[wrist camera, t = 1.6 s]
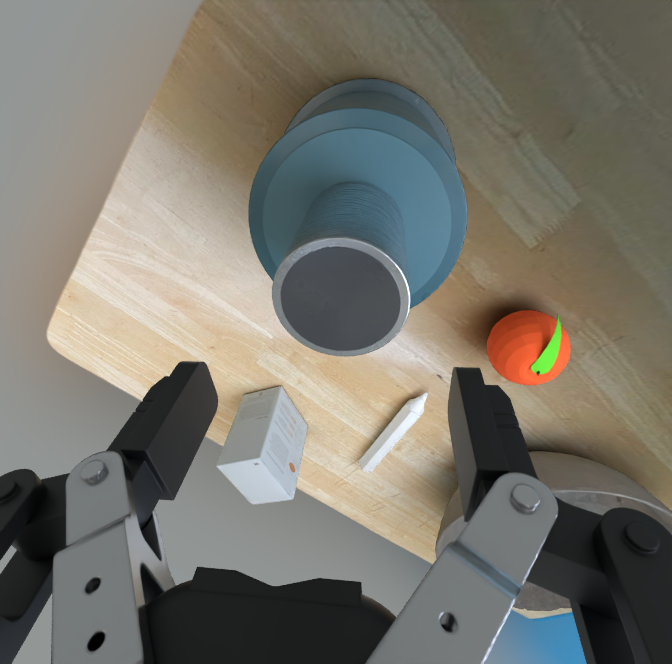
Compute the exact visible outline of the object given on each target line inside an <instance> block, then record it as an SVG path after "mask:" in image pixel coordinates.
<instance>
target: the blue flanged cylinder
mask: <svg viewBox="0 0 672 664" xmlns="http://www.w3.org/2000/svg"><path fill="white" fill-rule="evenodd" d="M348 181H359V182H365V183H369V184H372V185H374V186H376V187H378V188H380V189H382V190H383V191H385V192H386V193H387V194H388V195H389V196H390V197H391V198H392V199H393V200H394V201H395V203H396V204H397V206H398V207H399V210H400V212H401V214H402V217H403V221H404V228H405V240H406V251H407V263H408V274H409V285H410V308H412V307H414V306H416V305H417V304H419V303H420V302H422V301H423V300H425V299H426V298H427V297H429V296H430V295H431V294H432V293H433V292H434V291H435V290H436V289H437V288H438V287H439V286H440V285H441V284H442V283H443V281H444V280H445V279H446V278H447V276H448V275H449V273H450V272H451V270H452V269H453V267H454V265H455V263H456V261H457V259H458V257H459V255H460V252H461V249H462V246H463V243H464V239H465V234H466V229H467V203H466V196H465V192H464V188H463V184H462V181H461V179H460V176H459V173H458V171H457V169H456V163H455V155H454V150H453V146H452V142H451V140H450V137H449V134H448V132H447V130H446V128H445V126H444V124H443V123H442V121H441V119H440V118H439V116H438V115H437V114H436V113H435V111H434V110H433V109H432V107H431V106H430V105H429V104H428V103H427V102H426V101H425V100H424V99H423V98H421V97H420V96H419V95H417V94H416V93H414V92H413V91H412V90H410V89H408V88H406V87H404V86H402V85H400V84H397V83H394V82H391V81H388V80H382V79H375V78H360V79H354V80H348V81H345V82H342V83H338V84H335V85H333V86H331V87H329V88H327V89H325V90H323V91H322V92H320V93H319V94H318V95H316V96H315V97H313V98H312V99H310V100H309V101H308V102H307V103H306V104H305V105H304V106H303V107H302V108H301V109H300V110H299V111H298V113H297V114H296V115H295V116H294V118H293V119H292V121H291V122H290V124H289V126H288V127H287V129H286V131H285V133H284V136H282V137H281V138H280V139H279V140H278V141H277V142H276V143H275V145H274V146H273V147H272V148H271V149H270V151H269V152H268V153H267V155H266V156H265V158H264V160H263V161H262V163H261V165H260V167H259V169H258V171H257V174H256V176H255V178H254V181H253V185H252V189H251V193H250V200H249V227H250V234H251V238H252V241H253V245H254V248H255V251H256V253H257V255H258V258H259V260H260V262H261V264H262V265H263V267H264V269H265V271H266V272H267V273H268V275H269V276H270V278H271V279H272V280H273V281H274V277H275V274H276V272H277V270H278V268H279V266H280V264H281V262H282V260H283V258H284V256H285V254H286V252H287V250H288V248H289V246H290V244H291V242H292V240H293V238H294V236H295V234H296V232H297V230H298V228H299V226H300V224H301V222H302V220H303V218H304V217H305V215H306V213H307V211H308V209H309V207H310V205H311V203H312V202H313V201H314V199H315V198H316V197H317V196H318V195H319V194H320V193H321V192H323V191H324V190H325V189H327V188H329V187H330V186H333V185H335V184H338V183H342V182H348Z"/></svg>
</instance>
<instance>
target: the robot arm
mask: <svg viewBox="0 0 672 664" xmlns="http://www.w3.org/2000/svg"><path fill="white" fill-rule="evenodd" d="M217 406H218V396H217V392H216V389H215V387H214V384H213V381H212V378H211V375H210V372H209V369H208V367H207V365H206V363H205V362H189V361H182V362H180V363H178V365H177V366H176V367H175V369H174V370H173V372H172V373H171V375H170V376H165V377H164V378H162V379H161V380H160V381H159V382H157V383H156V384H155V385H153V386H152V387H151V388H150V390H149V391H148V393H147V394H146V396H145V397H144V398H143V402H141V403H140V404H139V405H138V407H137V408H136V412H133V414H132V415H131V417H130V418H129V420H128V421H127V422H126V424H125V425H124V427H123V428H122V429H121V431H120V432H119V434H118V435H117V437H116V438H115V439H114V441H113V442H112V443H111V445H110V446H109V448H108V449H107V450H106V451H103V452H99V453H96V454H93V455H91V456H89V457H88V458H86V459H84V460H83V461H81V462H80V463H79V464H78V465H77V466H76V467H75V468H74V469H73V470H72V471H71V473H68V474H64V475H59V476H55V477H51V478H46V479H42V480H40V478H39V477H38V476H37V475H36V474H35V473H34V472H33V471H32V470H28V469H19V470H15V471H12V472H9V473H7V474H4V475H3V476H1V477H0V560H1V559H2V557H3V556H4V555H5V553H6V551H7V550H8V549H9V547H10V546H11V545H12V546H13V547H14V548H16V549H17V551H16V552H15V554H14V555H13V557H12V559H11V560H10V561H9V563H8V564H7V565H6V567H5V568H4V570H3V571H2V573H1V574H0V664H12V662H13V660H14V658H15V656H16V655H17V653H18V651H19V650H20V648H21V646H22V644H23V643H24V641H25V639H26V637H27V636H28V634H29V632H30V630H31V629H32V627H33V625H34V623H35V622H36V620H37V618H38V616H39V615H40V613H41V611H42V609H43V608H44V606H45V604H46V602H47V601H48V599H49V597H50V595H51V594H52V595H53V596H52V645H51V648H52V649H51V664H484V663H485V661H486V659H487V657H488V655H489V653H490V651H491V649H492V646H493V645H494V643H495V641H496V639H497V637H498V635H499V633H500V631H501V629H502V627H503V625H504V623H505V621H506V619H507V617H508V615H509V613H510V611H511V609H512V607H513V605H514V603H515V601H516V599H517V597H518V595H519V593H520V591H521V589H522V587H523V585H524V583H525V581H527V582H530V583H532V584H534V585H537V586H539V587H541V588H544V589H546V590H548V591H551V592H553V593H555V594H558V595H560V596H563V597H565V598H567V599H569V601H570V604H571V608H572V612H573V615H574V619H575V623H576V626H577V630H578V634H579V637H580V641H581V645H582V648H583V652H584V656H585V659H586V663H587V664H672V535H671V533H670V532H669V531H668V530H667V529H666V528H665V527H664V526H663V525H662V524H660V523H659V522H658V521H657V520H655V519H654V518H652V517H650V516H649V515H647V514H645V513H643V512H640V511H638V510H635V509H631V508H625V507H618V508H613V509H610V510H608V511H607V512H606V513H605V514H604V515H600V514H597V513H594V512H591V511H588V510H585V509H582V508H579V507H576V506H573V505H571V504H568V503H566V502H564V501H562V500H560V499H559V498H557V497H556V496H554V494H553V493H552V492H551V490H550V489H549V488H548V487H547V486H546V485H545V484H544V483H542V482H541V481H540V480H539V478H538V477H537V474H536V472H535V469H534V466H533V463H532V460H531V458H530V455H529V452H528V449H527V446H526V443H525V440H524V438H523V435H522V432H521V429H520V428H519V423H518V420H517V417H516V416H515V412H514V409H513V406H512V403H511V400H510V398H509V397H508V396H507V395H506V394H505V392H504V391H503V390H502V389H501V388H500V387H499V386H498V385H485V384H484V380H483V377H482V373H481V370H480V368H464V367H454V368H453V372H452V378H451V386H450V393H449V400H448V422H449V428H450V434H451V441H452V447H453V453H454V459H455V466H456V472H457V478H458V484H459V490H460V497H461V503H462V509H463V515H464V522H468V523H467V525H466V526H465V528H464V529H463V531H462V532H461V534H460V535H459V536H458V538H457V539H456V540H455V541H454V542H453V541H451V542H450V543H448V544H447V546H446V547H445V548H444V549H443V551H442V552H441V553H440V555H439V556H438V558H437V559H436V561H435V562H434V564H433V565H432V567H431V568H430V570H429V571H428V572H427V574H426V575H425V577H424V578H423V580H422V581H421V583H420V584H419V586H418V587H417V589H416V590H415V592H414V593H413V595H412V596H411V597H410V599H409V600H408V602H407V603H406V605H405V606H404V608H403V609H402V611H401V612H400V613H399V615H398V616H397V618H396V617H395V616H394V615H393V614H392V613H391V612H390V611H389V610H388V609H387V608H385V607H384V606H383V605H381V604H380V603H378V602H376V601H375V600H373V599H372V598H369V597H367V596H365V595H362V587H361V582H355V581H344V580H332V579H322V578H318V579H312V580H307V581H302V582H297V583H292V584H287V585H282V586H270V585H268V584H266V583H264V582H261V581H259V580H257V579H254V578H252V577H250V576H247V575H245V574H243V573H241V572H238V571H236V570H226V569H215V568H204V567H197V569H196V571H195V574H194V577H193V579H192V580H190V581H187V582H184V583H181V584H179V585H177V586H176V585H175V583H174V580H173V578H172V576H171V573H170V571H169V568H168V564H167V560H166V555H165V550H164V546H163V542H162V537H161V532H160V527H159V522H158V518H157V514H156V511H155V510H154V508H155V506H156V504H157V502H158V500H159V499H161V500H174V499H175V497H176V494H177V492H178V490H179V488H180V486H181V484H182V482H183V480H184V478H185V476H186V474H187V471H188V469H189V467H190V465H191V463H192V461H193V459H194V457H195V455H196V453H197V451H198V449H199V447H200V444H201V442H202V440H203V438H204V436H205V434H206V432H207V430H208V428H209V426H210V424H211V422H212V420H213V417H214V415H215V413H216V410H217Z"/></svg>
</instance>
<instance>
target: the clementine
mask: <svg viewBox="0 0 672 664" xmlns="http://www.w3.org/2000/svg"><path fill="white" fill-rule="evenodd" d="M570 349H571V346H570V340H569V337H568V334H567V332H566V331H565V329H564V327H563V326H562V325H561V324H560V320H559V316H557V320H555V319H554V318H553V317H552V316H549V315H547V314H544V313H542V312H539V311H533V310H524V311H518V312H515V313H511V314H509V315H507V316H505V317H503V318H502V319H501V320H500V321H498V322H497V323H496V324H495V326H494V327H493V328H492V330H491V333H490V335H489V338H488V340H487V353H488V357H489V360H490V362H491V364H492V366H493V367H494V368H495V370H496V371H497V372H498V373H499V374H500V375H502V376H503V377H504V378H506V379H507V380H509V381H512V382H515V383H518V384H523V385H537V384H542V383H545V382H547V381H550V380H552V379H553V378H555V377H556V376H557V375H558V374H559V373H560V372H561V371H562V370H563V369H564V367H565V366H566V364H567V362H568V361H569V356H570Z"/></svg>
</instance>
